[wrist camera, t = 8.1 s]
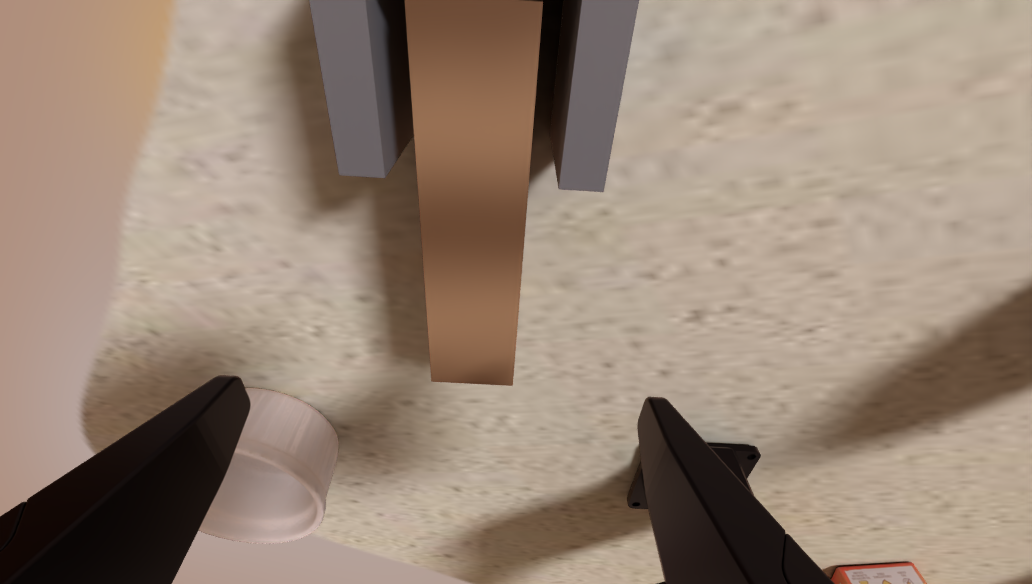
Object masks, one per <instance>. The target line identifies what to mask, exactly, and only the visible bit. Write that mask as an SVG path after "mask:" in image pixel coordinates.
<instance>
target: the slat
mask: <svg viewBox="0 0 1032 584" xmlns="http://www.w3.org/2000/svg"><path fill="white" fill-rule="evenodd" d="M542 9H543V1H542V0H405V13H406V27H407V42H408V56H409V70H410V84H411V98H412V112H413V127H414V141H415V155H416V169H417V183H418V197H419V212H420V226H421V240H422V254H423V268H424V282H425V296H426V311H427V325H428V339H429V353H430V367H431V381H432V382H451V383H470V384H490V385H509V386H513V375H514V362H515V350H516V337H517V324H518V312H519V299H520V287H521V274H522V261H523V249H524V236H525V224H526V211H527V198H528V186H529V173H530V160H531V148H532V135H533V123H534V110H535V97H536V85H537V72H538V59H539V47H540V34H541V22H542Z"/></svg>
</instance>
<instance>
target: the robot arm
mask: <svg viewBox="0 0 1032 584" xmlns="http://www.w3.org/2000/svg"><path fill="white" fill-rule="evenodd" d="M250 407H251V403H250V399H249V396H248V394H247V391H246V389H245V387H244V384H243V382H242V380H241V378H239V377H238V376H228V375H220V376H217V377H215V378H213V379H212V380H210V381H209V382H207V383H205V384H204V385H202V386H201V387H199V388H198V389H196V390H195V391H193V392H192V393H190V394H188V395H187V396H185V397H184V398H182V399H181V400H179V401H178V402H176V403H175V404H173V405H172V406H170V407H168V408H167V409H165V410H164V411H162V412H161V413H159V414H158V415H156V416H155V417H153V418H151V419H150V420H148V421H147V422H145V423H144V424H142V425H141V426H139V427H138V428H136V429H135V430H133V431H131V432H130V433H128V434H127V435H125V436H124V437H122V438H121V439H119V440H118V441H116V442H115V443H113V444H111V445H110V446H108V447H107V448H105V449H104V450H102V451H101V452H99V453H98V454H96V455H94V456H93V457H91V458H90V459H88V460H87V461H86V462H84V463H82V464H81V465H79V466H78V467H76V468H74V469H73V470H71V471H70V472H68V473H67V474H65V475H64V476H62V477H61V478H59V479H58V480H56V481H54V482H53V483H51V484H50V485H48V486H47V487H45V488H44V489H42V490H40V491H39V492H37V493H36V494H34V495H33V496H31V497H30V498H28V500H27V502H22V503H20V504H19V505H17V506H16V507H14V508H13V509H11V510H10V511H8V512H7V513H5V514H3V515H2V516H0V584H172V582H173V580H174V578H175V576H176V574H177V572H178V570H179V568H180V566H181V564H182V562H183V560H184V558H185V556H186V554H187V552H188V550H189V548H190V546H191V544H192V542H193V540H194V538H195V536H196V534H197V532H198V530H199V528H200V526H201V524H202V522H203V520H204V518H205V516H206V514H207V512H208V510H209V508H210V506H211V504H212V502H213V500H214V498H215V496H216V494H217V492H218V490H219V488H220V486H221V484H222V482H223V480H224V477H225V475H226V473H227V470H228V468H229V465H230V463H231V460H232V457H233V455H234V452H235V449H236V447H237V444H238V441H239V439H240V436H241V433H242V431H243V428H244V425H245V422H246V420H247V417H248V414H249V412H250ZM638 437H639V445H640V454H641V462H640V465H639V468H638V470H637V473H636V476H635V478H634V481H633V484H632V486H631V489H630V492H629V495H628V497H627V501H628V506H629V507H631V508H635V509H648V511H649V515H650V519H651V524H652V528H653V532H654V537H655V541H656V545H657V550H658V554H659V558H660V562H661V567H662V571H663V575H664V580H665V582H661V583H657V584H835V583H834V582H833V581H832V580H831V579H830V578H829V577H828V576H827V575H826V574H825V573H824V572H823V571H822V570H821V569H820V568H819V567H818V566H817V565H816V563H815V562H814V561H813V560H812V559H811V558H810V557H809V556H808V555H807V554H806V553H805V552H804V551H803V550H802V548H801V547H800V546H799V545H798V544H797V543H796V542H795V541H794V540H793V538H792V537H791V536H790V535H789V534H785V530H784V529H783V528H782V526H781V525H780V524H779V523H778V522H777V521H776V520H775V519H774V518H773V516H772V515H771V514H770V513H769V512H768V511H767V510H766V509H765V508H764V507H763V505H762V504H761V503H760V502H759V501H758V500H757V499H756V498H755V497H754V494H753V492H752V490H751V487H750V485H749V483H748V481H747V478H748V476H749V474H750V473H751V471H752V470H753V468H754V466H755V465H756V463H757V462H758V460H759V458H760V456H761V455H760V453H759V451H758V449H757V447H755V446H747V445H727V444H707V443H706V442H705V441H704V440H703V439H702V438H701V437H700V436H699V434H698V433H697V432H696V431H695V430H694V429H693V428H692V427H691V426H690V425H689V423H688V422H687V421H686V420H685V419H684V418H683V417H682V416H681V415H680V413H679V412H678V411H677V410H676V409H675V408H674V407H673V406H672V405H671V403H670V402H669V401H668V400H667V399H665V398H662V397H647V398H646V399H645V401H644V404H643V407H642V410H641V413H640V416H639V419H638Z"/></svg>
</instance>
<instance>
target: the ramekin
mask: <svg viewBox="0 0 1032 584" xmlns="http://www.w3.org/2000/svg"><path fill="white" fill-rule="evenodd" d="M245 389H246V391H247V394H248V396H249V399H250V403H251V407H250V412H249V414H248V417H247V420H246V422H245V425H244V428H243V431H242V433H241V436H240V439H239V441H238V444H237V447H236V449H235V452H234V455H233V457H232V460H231V463H230V465H229V468H228V470H227V473H226V475H225V477H224V480H223V482H222V484H221V486H220V488H219V490H218V492H217V494H216V496H215V498H214V500H213V502H212V504H211V506H210V508H209V510H208V512H207V514H206V516H205V518H204V520H203V522H202V524H201V526H200V528H199V530H198V531H201V532H204V533H206V534H209V535H213V536H216V537H220V538H224V539H229V540H232V541H239V542H246V543H262V544H263V543H266V544H267V543H268V544H271V543H273V544H274V543H284V542H288V541H293V540H297V539H300V538H302V537H305V536H307V535H309V534H311V533H312V532H313V531H315V530H316V529H317V528H318V527H319V526H320V524H321V523H322V520H323V518H324V514H325V509H326V496H327V493H328V490H329V486H330V483H331V479H332V476H333V473H334V469H335V466H336V461H337V456H338V450H339V442H338V436H337V434H336V432H335V430H334V428H333V427H332V425H331V424H330V423H329V422H328V420H327V419H326V418H325V417H324V416H323V415H322V414H321V413H320V412H318V411H317V410H316V409H314V408H313V407H312V406H310V405H308V404H307V403H305V402H303V401H301V400H299V399H297V398H295V397H292V396H290V395H287V394H284V393H280V392H276V391H272V390H267V389H259V388H245Z"/></svg>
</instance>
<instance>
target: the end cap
mask: <svg viewBox="0 0 1032 584" xmlns="http://www.w3.org/2000/svg"><path fill="white" fill-rule="evenodd" d="M309 2H310V8H311V14H312V20H313V26H314V31H315V37H316V43H317V49H318V55H319V61H320V66H321V72H322V78H323V84H324V90H325V96H326V101H327V107H328V113H329V119H330V125H331V131H332V136H333V142H334V148H335V154H336V160H337V165H338V171H339V175H344V176H360V177H375V178H385V177H386V176H387V174H388V173H389V171H390V170H391V168H392V167H393V165H394V164H395V162H396V161H397V159H398V158H399V156H400V155H401V153H402V152H403V150H404V149H405V147H406V146H407V144H408V143H409V141H410V140H411V138H412V137H413V135H414V127H413V112H412V98H411V84H410V70H409V56H408V42H407V27H406V13H405V0H309ZM638 3H639V0H563V10H562V19H561V29H560V39H559V48H558V58H557V68H556V77H555V87H554V97H553V106H552V116H551V125H550V139H551V145H552V151H553V157H554V163H555V170H556V176H557V182H558V188H559V189H563V190H579V191H594V192H604V186H605V181H606V176H607V170H608V165H609V159H610V154H611V149H612V143H613V138H614V133H615V127H616V122H617V116H618V111H619V106H620V100H621V95H622V89H623V84H624V79H625V73H626V68H627V62H628V57H629V52H630V46H631V41H632V35H633V30H634V25H635V19H636V14H637V9H638Z"/></svg>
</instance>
